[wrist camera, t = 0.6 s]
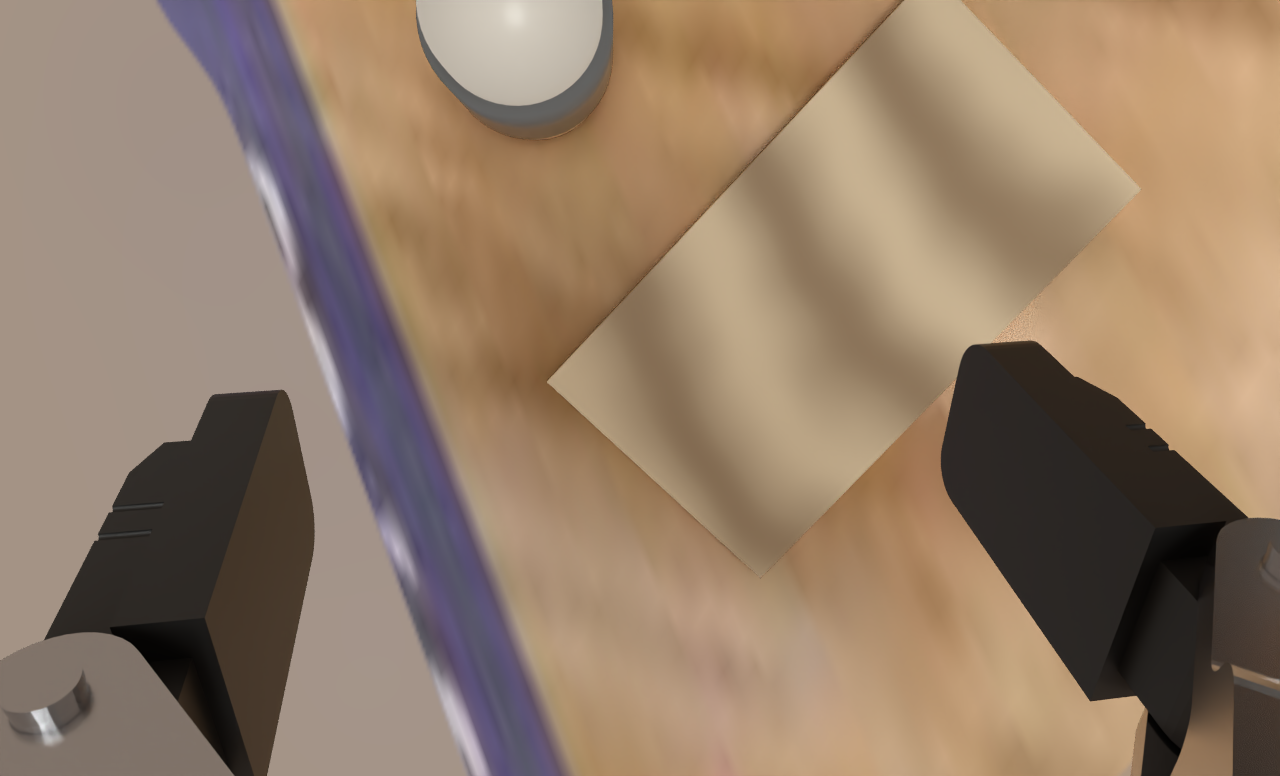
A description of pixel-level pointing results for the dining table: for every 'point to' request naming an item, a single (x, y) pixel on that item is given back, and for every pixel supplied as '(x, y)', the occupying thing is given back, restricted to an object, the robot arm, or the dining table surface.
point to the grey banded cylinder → (521, 59)
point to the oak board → (844, 279)
